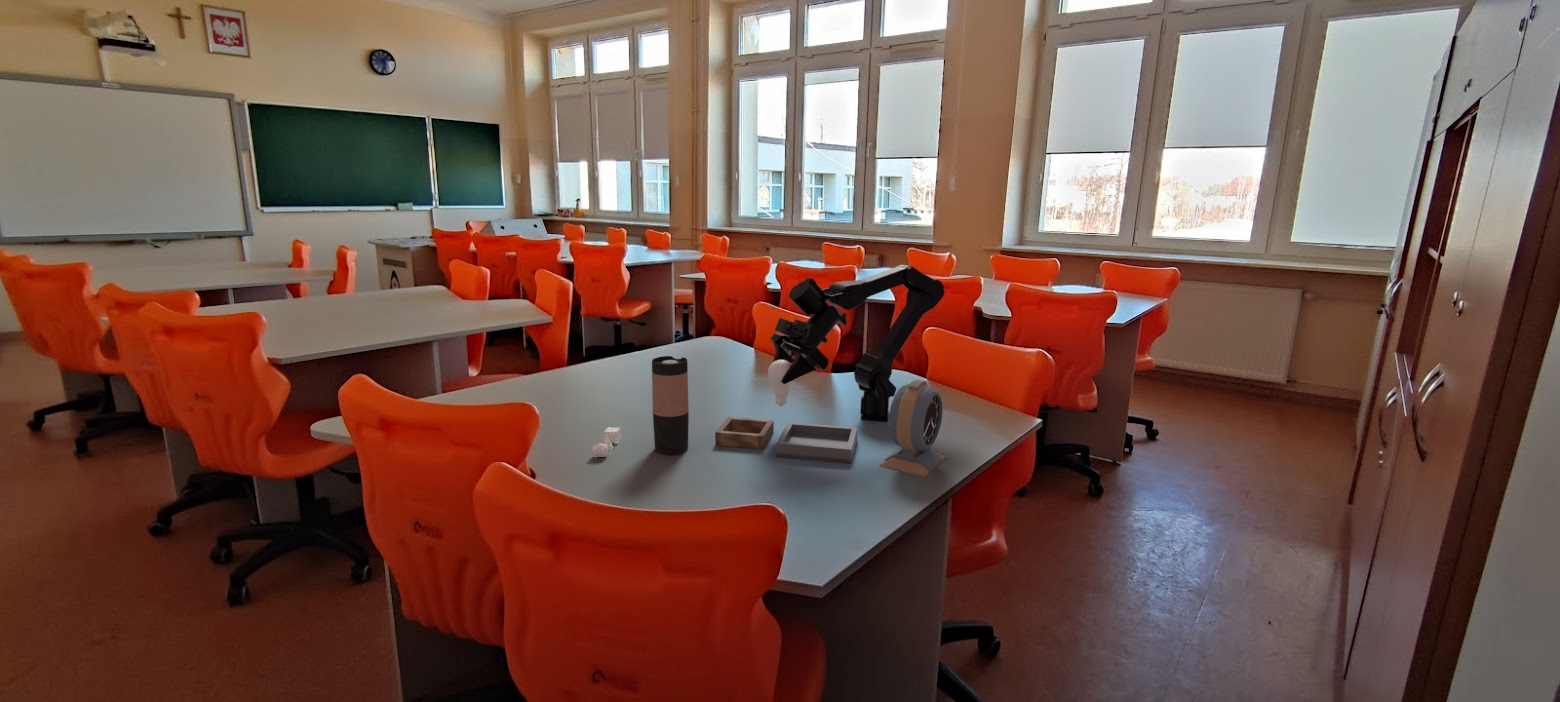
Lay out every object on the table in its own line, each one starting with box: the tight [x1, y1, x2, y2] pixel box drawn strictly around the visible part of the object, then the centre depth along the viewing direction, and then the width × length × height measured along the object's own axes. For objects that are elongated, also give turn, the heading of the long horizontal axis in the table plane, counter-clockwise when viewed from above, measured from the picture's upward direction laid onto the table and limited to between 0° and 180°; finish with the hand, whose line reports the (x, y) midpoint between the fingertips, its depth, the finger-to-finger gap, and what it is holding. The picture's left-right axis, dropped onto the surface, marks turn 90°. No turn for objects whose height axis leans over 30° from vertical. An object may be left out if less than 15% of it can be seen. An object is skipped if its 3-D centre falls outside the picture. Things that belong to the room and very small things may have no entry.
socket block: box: [714, 416, 775, 450], centre depth 159 cm, size 11×11×3 cm
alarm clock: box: [879, 379, 946, 477], centre depth 146 cm, size 14×10×18 cm
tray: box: [775, 421, 859, 464], centre depth 154 cm, size 16×14×3 cm
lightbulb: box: [767, 360, 793, 407], centre depth 161 cm, size 6×6×11 cm
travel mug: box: [651, 355, 690, 456], centre depth 150 cm, size 8×8×20 cm
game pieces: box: [591, 426, 622, 458], centre depth 152 cm, size 12×3×3 cm, turn 177°
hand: (775, 379), depth 160 cm, fingers closed on lightbulb, 6 cm apart
